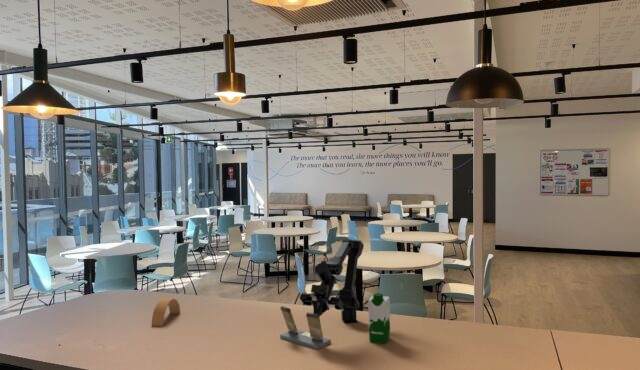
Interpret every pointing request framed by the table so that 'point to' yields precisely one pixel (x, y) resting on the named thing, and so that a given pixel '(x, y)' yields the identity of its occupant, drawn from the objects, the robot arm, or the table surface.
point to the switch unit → (305, 339)
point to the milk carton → (379, 318)
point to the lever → (288, 318)
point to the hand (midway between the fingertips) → (314, 319)
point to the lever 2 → (314, 325)
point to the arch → (161, 308)
